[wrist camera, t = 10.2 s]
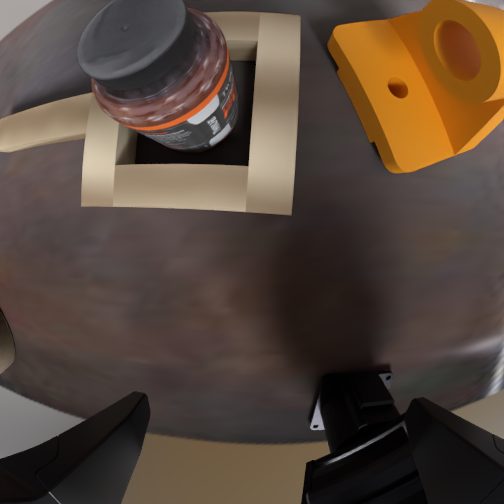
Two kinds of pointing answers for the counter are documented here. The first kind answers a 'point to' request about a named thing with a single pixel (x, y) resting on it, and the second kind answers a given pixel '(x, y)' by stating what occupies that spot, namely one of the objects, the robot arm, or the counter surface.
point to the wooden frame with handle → (188, 175)
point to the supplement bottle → (161, 72)
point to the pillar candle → (5, 345)
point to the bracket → (425, 80)
